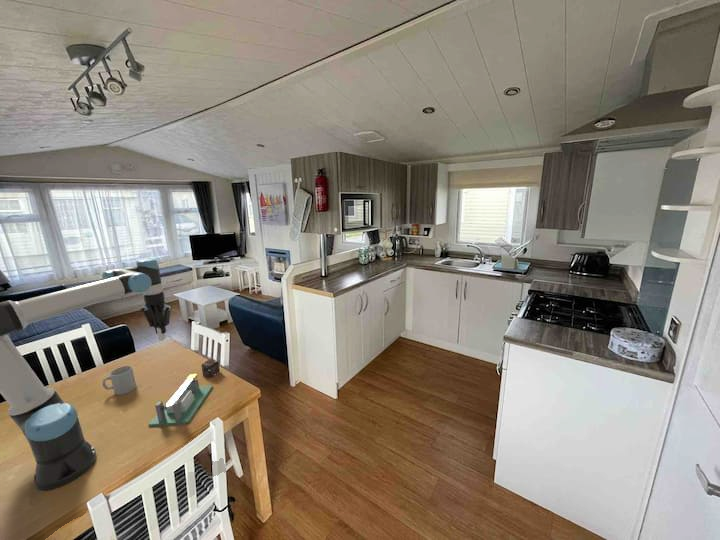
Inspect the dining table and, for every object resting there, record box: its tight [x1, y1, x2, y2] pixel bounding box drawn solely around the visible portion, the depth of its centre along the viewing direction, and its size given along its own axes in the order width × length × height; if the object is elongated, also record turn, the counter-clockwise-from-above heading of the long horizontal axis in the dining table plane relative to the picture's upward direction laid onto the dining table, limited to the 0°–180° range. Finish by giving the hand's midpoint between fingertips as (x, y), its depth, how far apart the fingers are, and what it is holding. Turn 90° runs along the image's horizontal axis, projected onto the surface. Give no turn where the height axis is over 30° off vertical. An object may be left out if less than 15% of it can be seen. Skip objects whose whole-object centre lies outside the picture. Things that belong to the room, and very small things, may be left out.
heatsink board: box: [147, 379, 214, 427], centre depth 128 cm, size 24×16×10 cm, turn 4°
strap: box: [161, 373, 198, 410], centre depth 127 cm, size 22×5×2 cm, turn 4°
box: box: [201, 358, 221, 378], centre depth 151 cm, size 6×6×7 cm
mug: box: [102, 365, 137, 396], centre depth 138 cm, size 12×8×11 cm
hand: (162, 339), depth 132 cm, fingers closed
